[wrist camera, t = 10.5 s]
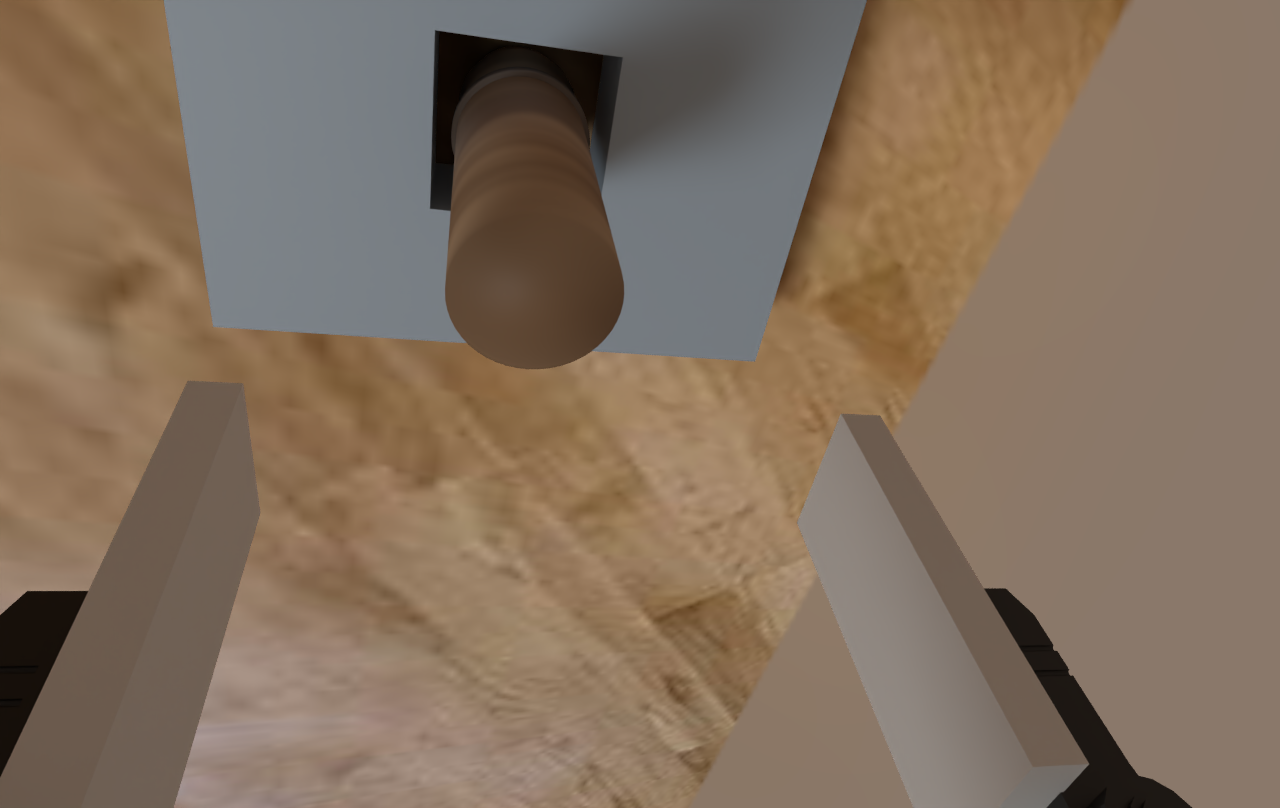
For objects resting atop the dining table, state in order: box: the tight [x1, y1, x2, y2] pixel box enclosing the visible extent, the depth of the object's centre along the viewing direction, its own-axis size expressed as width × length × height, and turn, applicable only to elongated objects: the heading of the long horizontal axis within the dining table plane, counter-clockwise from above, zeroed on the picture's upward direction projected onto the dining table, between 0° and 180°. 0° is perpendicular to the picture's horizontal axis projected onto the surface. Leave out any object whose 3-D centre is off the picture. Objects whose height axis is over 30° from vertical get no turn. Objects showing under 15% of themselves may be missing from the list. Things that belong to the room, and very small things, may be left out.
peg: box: [445, 46, 624, 369], centre depth 24 cm, size 4×4×14 cm
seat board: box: [164, 0, 867, 361], centre depth 28 cm, size 16×20×4 cm
